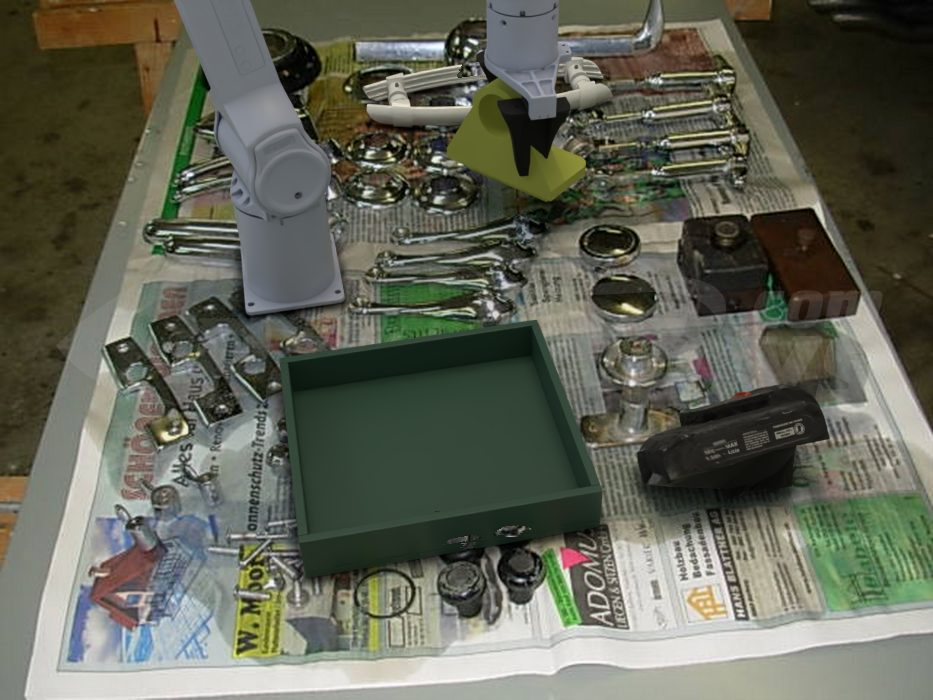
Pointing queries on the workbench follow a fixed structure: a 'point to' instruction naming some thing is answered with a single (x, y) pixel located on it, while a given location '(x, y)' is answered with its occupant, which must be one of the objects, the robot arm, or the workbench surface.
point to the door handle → (407, 116)
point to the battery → (736, 442)
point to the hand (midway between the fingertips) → (520, 151)
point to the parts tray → (432, 447)
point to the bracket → (509, 149)
